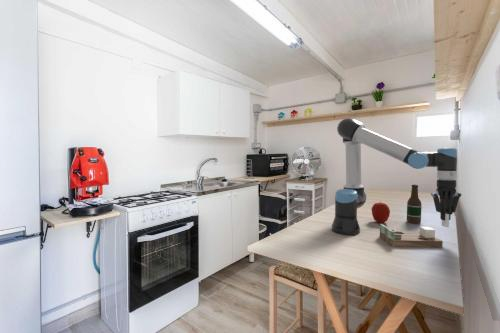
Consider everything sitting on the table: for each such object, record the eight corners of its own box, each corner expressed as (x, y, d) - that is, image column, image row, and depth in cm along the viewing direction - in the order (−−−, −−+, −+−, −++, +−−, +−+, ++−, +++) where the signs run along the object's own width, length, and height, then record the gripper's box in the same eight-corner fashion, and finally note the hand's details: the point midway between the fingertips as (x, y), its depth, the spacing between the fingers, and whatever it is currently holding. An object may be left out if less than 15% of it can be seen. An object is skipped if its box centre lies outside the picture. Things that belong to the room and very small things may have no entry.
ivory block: (419, 234, 124) (419, 226, 123) (428, 234, 123) (429, 226, 123) (425, 237, 119) (425, 229, 119) (434, 237, 119) (435, 229, 119)
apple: (391, 222, 154) (392, 200, 153) (386, 225, 147) (386, 203, 146) (374, 219, 162) (375, 198, 161) (368, 222, 155) (369, 200, 154)
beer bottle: (419, 224, 148) (420, 186, 147) (404, 222, 154) (405, 184, 153) (422, 222, 154) (424, 184, 152) (408, 219, 159) (409, 183, 158)
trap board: (379, 236, 129) (379, 223, 129) (424, 237, 128) (425, 224, 127) (392, 246, 116) (392, 232, 116) (442, 247, 115) (443, 232, 114)
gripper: (437, 180, 115) (436, 228, 117) (466, 179, 115) (465, 228, 116) (427, 178, 123) (426, 224, 124) (454, 178, 122) (453, 224, 123)
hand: (445, 226), depth 120 cm, fingers closed
